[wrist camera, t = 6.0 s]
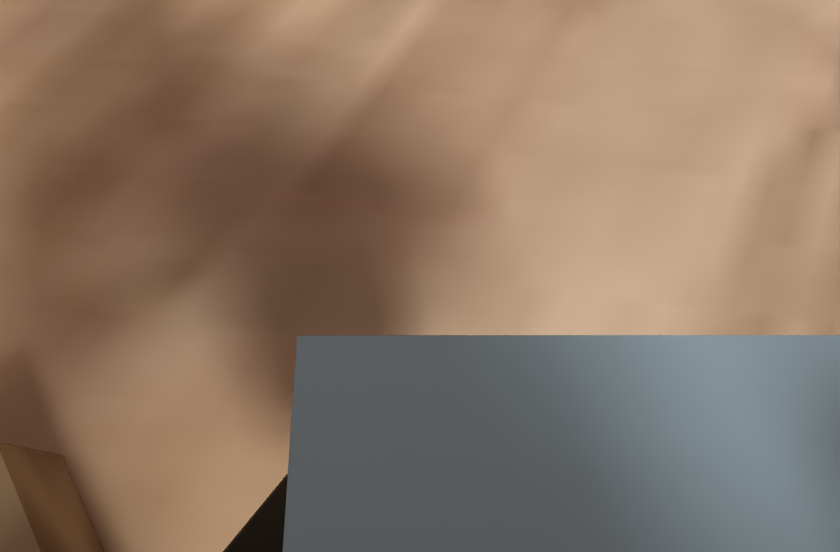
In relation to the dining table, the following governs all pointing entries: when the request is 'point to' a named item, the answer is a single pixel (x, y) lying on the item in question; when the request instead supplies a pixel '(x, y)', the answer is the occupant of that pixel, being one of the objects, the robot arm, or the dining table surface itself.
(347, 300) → the dining table surface
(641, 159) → the dining table surface
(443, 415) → the blue block
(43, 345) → the dining table surface
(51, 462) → the walnut block
